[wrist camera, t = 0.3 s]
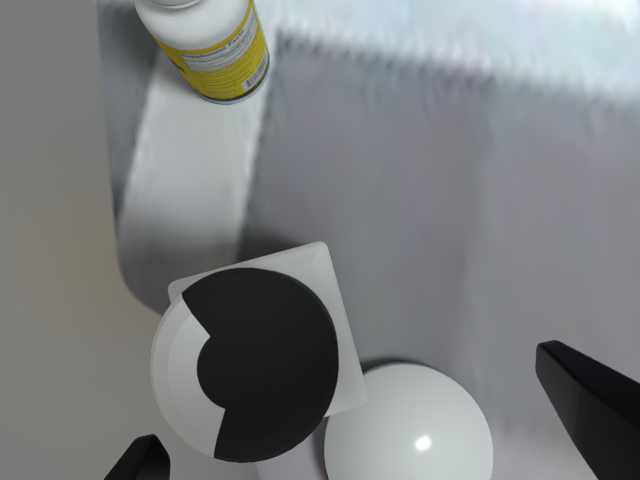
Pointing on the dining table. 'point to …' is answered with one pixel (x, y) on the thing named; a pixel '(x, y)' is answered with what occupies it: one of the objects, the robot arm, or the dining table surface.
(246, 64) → the supplement bottle
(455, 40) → the dining table surface
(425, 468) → the white round dome
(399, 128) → the dining table surface
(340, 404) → the medicine bottle
